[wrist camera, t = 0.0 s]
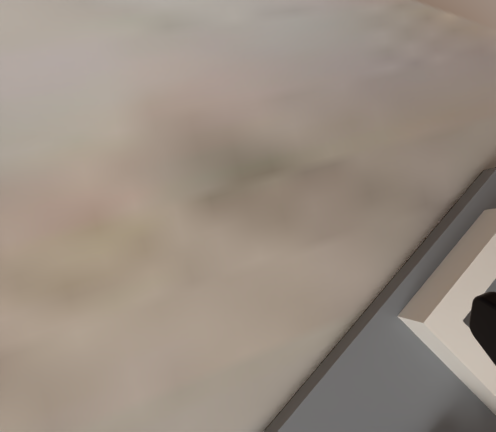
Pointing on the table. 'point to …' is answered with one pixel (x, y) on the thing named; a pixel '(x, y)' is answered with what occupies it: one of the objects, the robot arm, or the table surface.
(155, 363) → the table surface
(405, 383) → the panel board
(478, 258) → the port block
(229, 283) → the table surface
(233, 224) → the table surface
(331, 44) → the table surface
